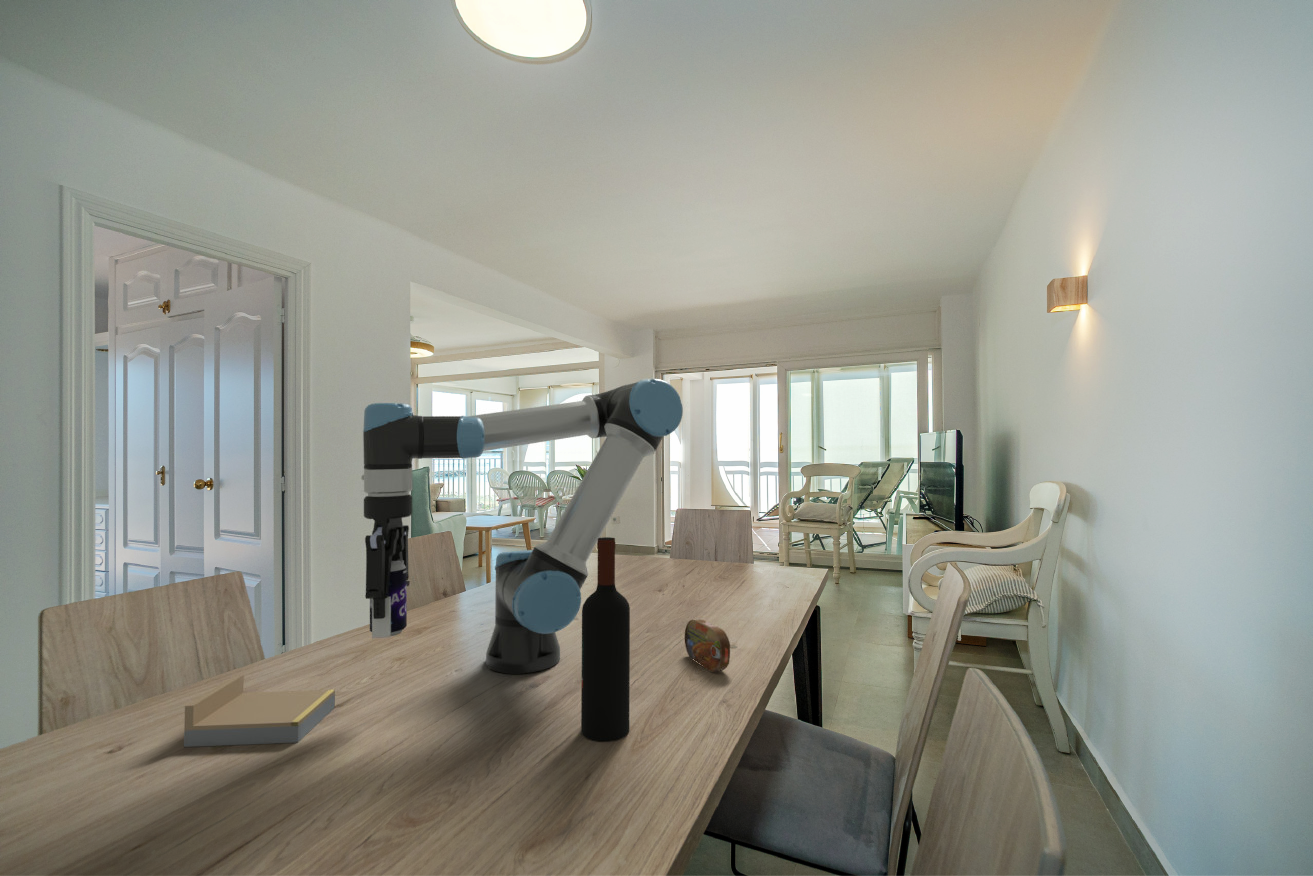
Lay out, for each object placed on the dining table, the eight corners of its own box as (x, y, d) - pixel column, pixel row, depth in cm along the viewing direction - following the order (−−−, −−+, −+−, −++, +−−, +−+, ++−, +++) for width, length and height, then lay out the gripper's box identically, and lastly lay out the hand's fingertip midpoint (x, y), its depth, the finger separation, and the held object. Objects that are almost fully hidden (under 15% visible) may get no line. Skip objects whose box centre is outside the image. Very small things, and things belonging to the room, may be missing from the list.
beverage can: (392, 639, 95) (392, 565, 95) (362, 637, 96) (361, 565, 96) (413, 629, 101) (413, 559, 101) (384, 627, 102) (384, 558, 102)
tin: (683, 654, 126) (683, 615, 126) (696, 652, 128) (695, 613, 128) (719, 678, 113) (719, 634, 113) (733, 676, 114) (733, 632, 114)
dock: (334, 707, 99) (335, 672, 99) (297, 742, 87) (298, 702, 87) (235, 711, 98) (236, 675, 98) (184, 747, 86) (184, 705, 86)
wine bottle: (591, 746, 86) (592, 543, 87) (574, 725, 93) (575, 537, 94) (637, 735, 90) (638, 540, 91) (617, 715, 96) (618, 534, 97)
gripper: (385, 490, 108) (386, 616, 107) (340, 499, 89) (340, 651, 89) (427, 490, 109) (428, 614, 108) (391, 498, 90) (391, 648, 90)
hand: (388, 630), depth 98 cm, fingers closed on beverage can, 6 cm apart
